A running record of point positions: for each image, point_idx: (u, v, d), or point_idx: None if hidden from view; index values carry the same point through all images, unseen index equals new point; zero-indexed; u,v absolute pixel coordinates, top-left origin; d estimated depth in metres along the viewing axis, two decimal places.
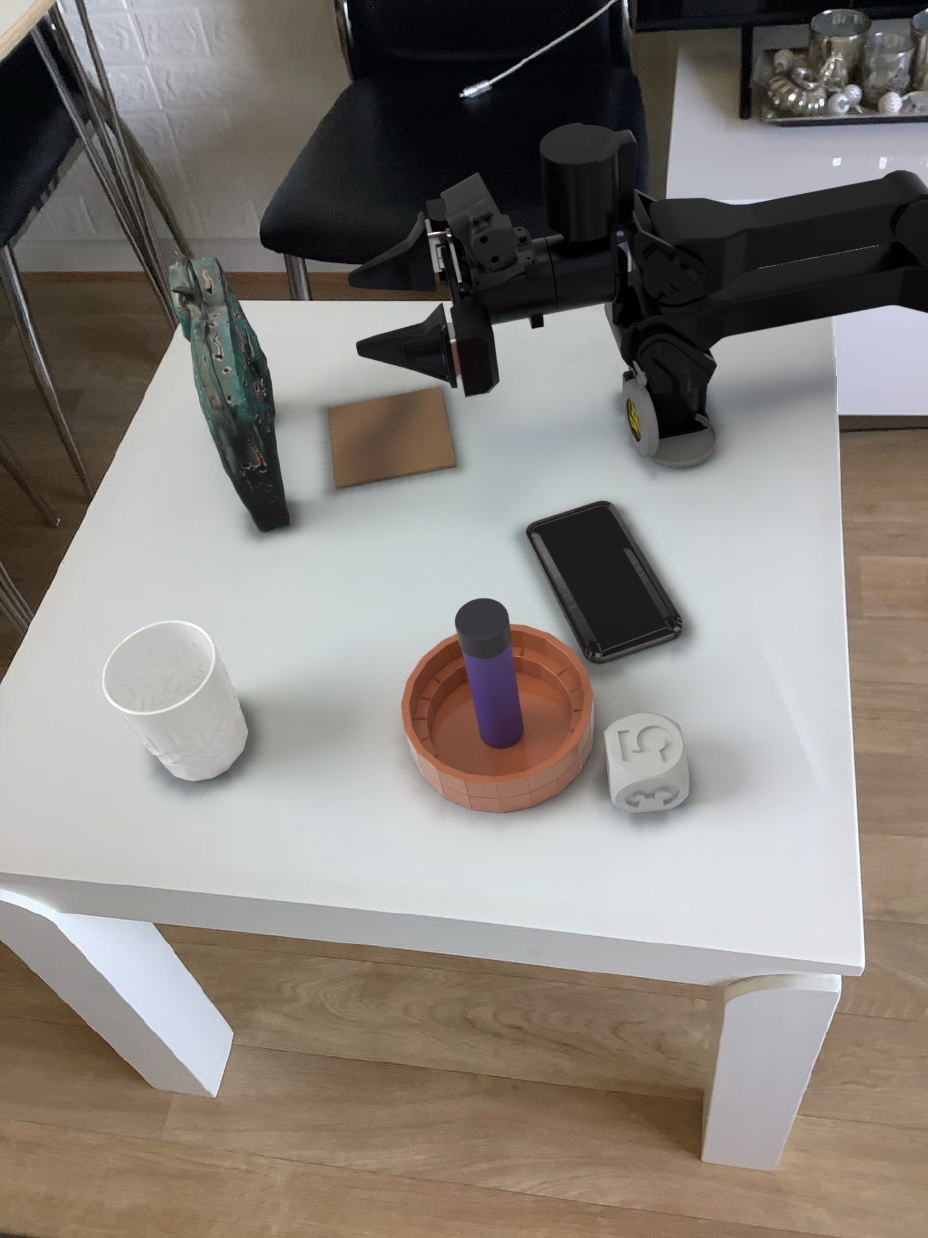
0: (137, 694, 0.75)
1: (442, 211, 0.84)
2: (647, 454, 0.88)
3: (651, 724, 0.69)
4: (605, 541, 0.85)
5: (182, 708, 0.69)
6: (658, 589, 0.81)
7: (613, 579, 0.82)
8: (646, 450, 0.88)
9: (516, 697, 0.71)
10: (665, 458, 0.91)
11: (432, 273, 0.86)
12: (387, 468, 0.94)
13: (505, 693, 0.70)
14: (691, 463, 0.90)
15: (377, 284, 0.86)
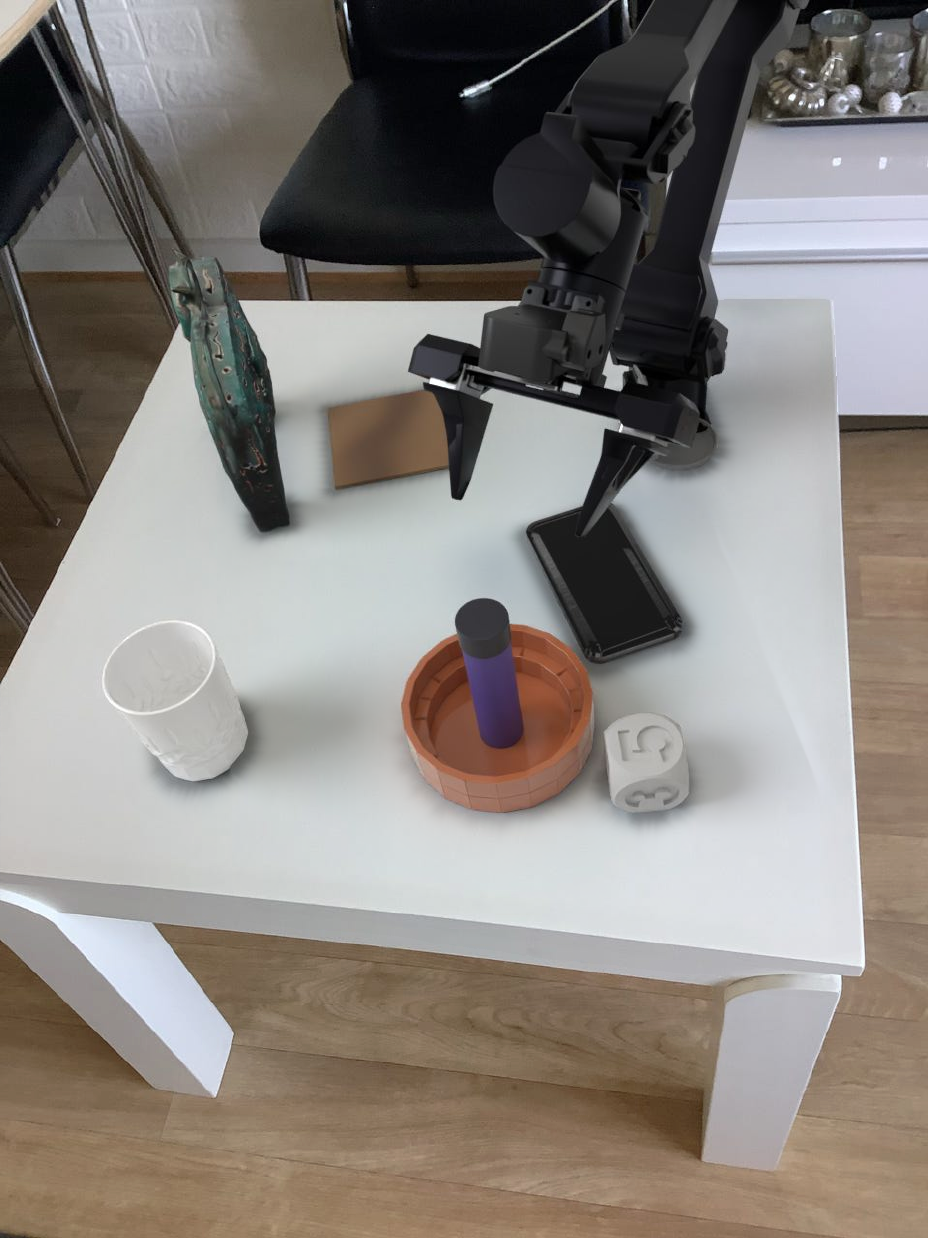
0: (137, 694, 0.75)
1: (440, 361, 0.68)
2: (650, 458, 0.88)
3: (651, 724, 0.69)
4: (605, 541, 0.85)
5: (182, 708, 0.69)
6: (658, 589, 0.81)
7: (613, 579, 0.82)
8: None
9: (516, 697, 0.71)
10: (667, 462, 0.91)
11: (483, 402, 0.72)
12: (387, 468, 0.94)
13: (505, 693, 0.70)
14: (693, 465, 0.89)
15: (471, 469, 0.72)
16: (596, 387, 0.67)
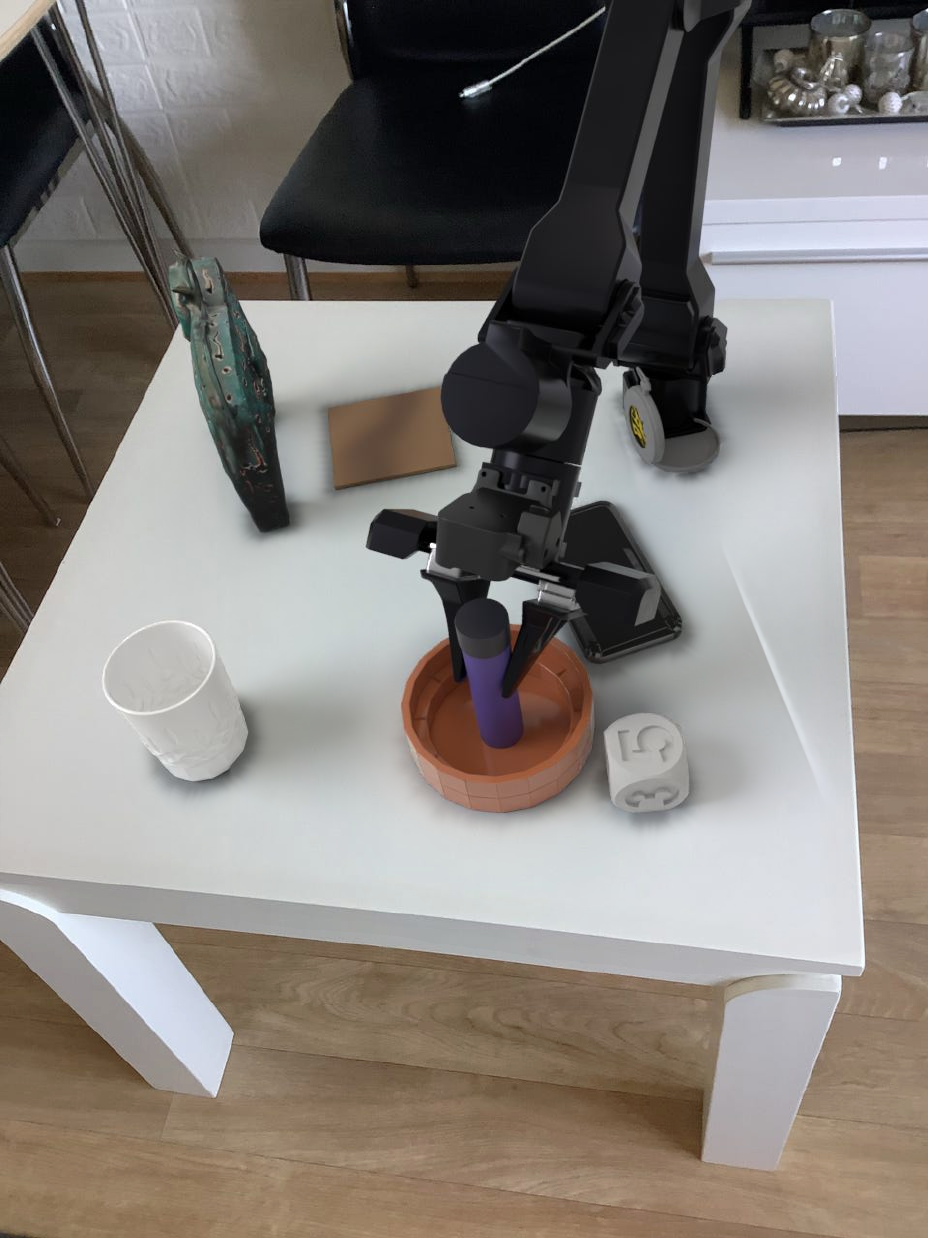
0: (137, 694, 0.75)
1: (398, 540, 0.68)
2: (653, 460, 0.88)
3: (651, 724, 0.69)
4: (605, 541, 0.85)
5: (182, 708, 0.69)
6: None
7: None
8: (652, 456, 0.87)
9: (516, 697, 0.71)
10: (669, 464, 0.91)
11: (481, 580, 0.70)
12: (387, 468, 0.94)
13: None
14: (696, 468, 0.89)
15: None
16: (555, 564, 0.66)
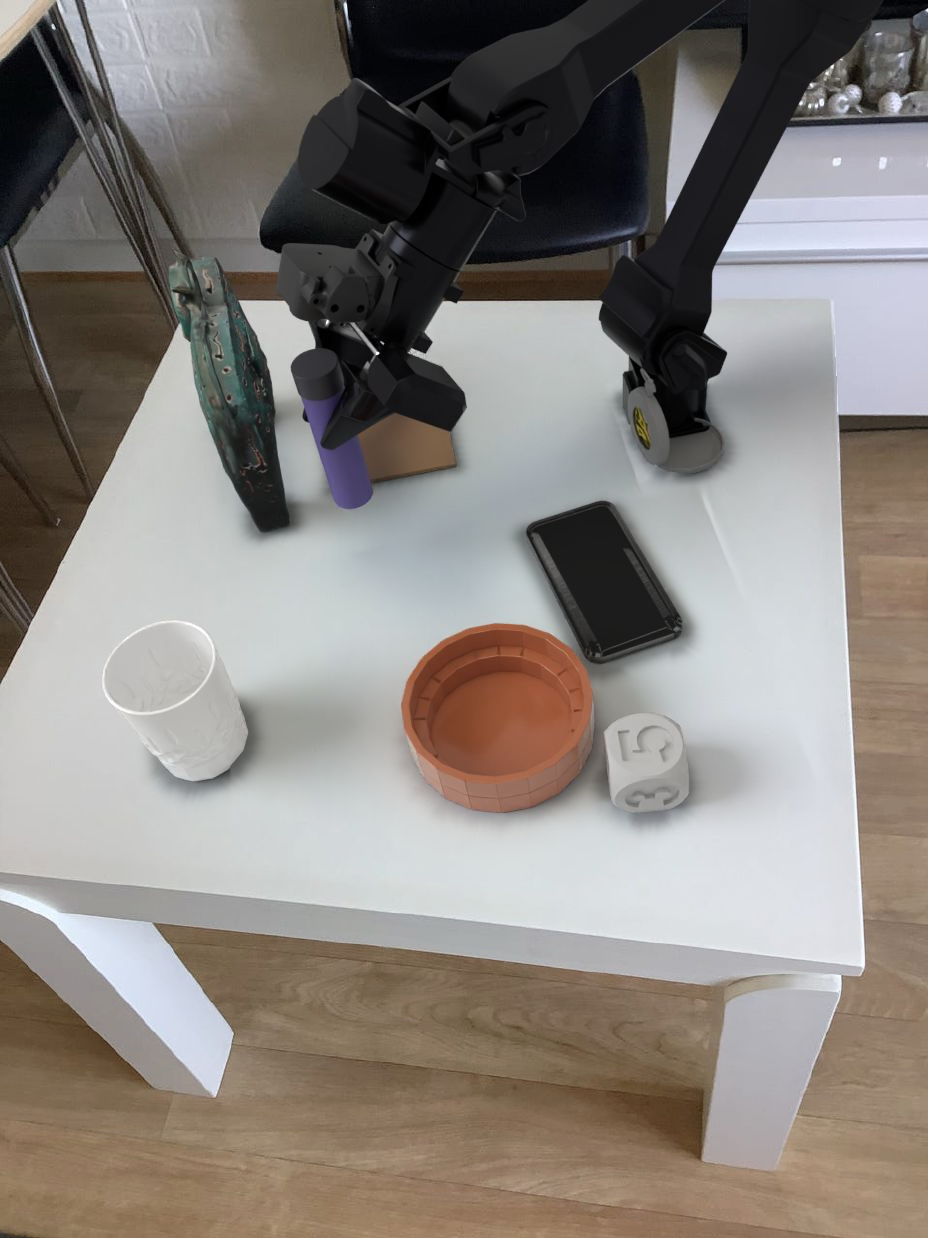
0: (137, 694, 0.75)
1: None
2: (658, 461, 0.88)
3: (651, 724, 0.69)
4: (605, 541, 0.85)
5: (182, 708, 0.69)
6: (658, 589, 0.81)
7: (613, 579, 0.82)
8: (657, 457, 0.87)
9: (349, 460, 0.79)
10: (674, 465, 0.91)
11: (362, 345, 0.77)
12: (387, 468, 0.94)
13: None
14: (701, 468, 0.89)
15: None
16: (392, 345, 0.72)
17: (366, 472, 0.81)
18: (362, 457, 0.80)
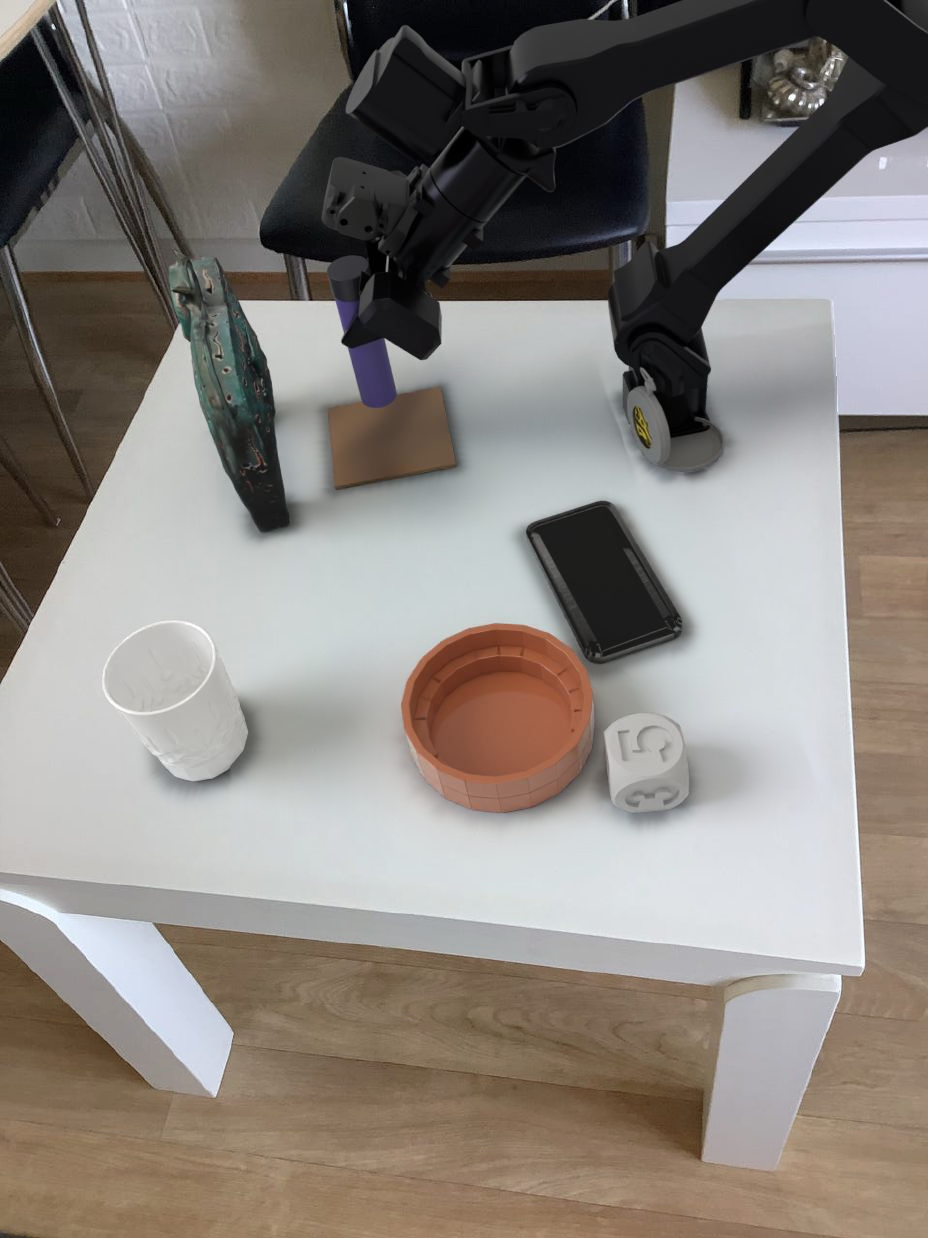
0: (137, 694, 0.75)
1: None
2: (659, 460, 0.87)
3: (651, 724, 0.69)
4: (605, 541, 0.85)
5: (182, 708, 0.69)
6: (658, 589, 0.81)
7: (613, 579, 0.82)
8: (658, 456, 0.87)
9: (368, 362, 0.88)
10: (674, 464, 0.91)
11: None
12: (387, 468, 0.94)
13: None
14: (702, 466, 0.89)
15: None
16: (405, 270, 0.80)
17: (387, 379, 0.90)
18: (384, 364, 0.89)
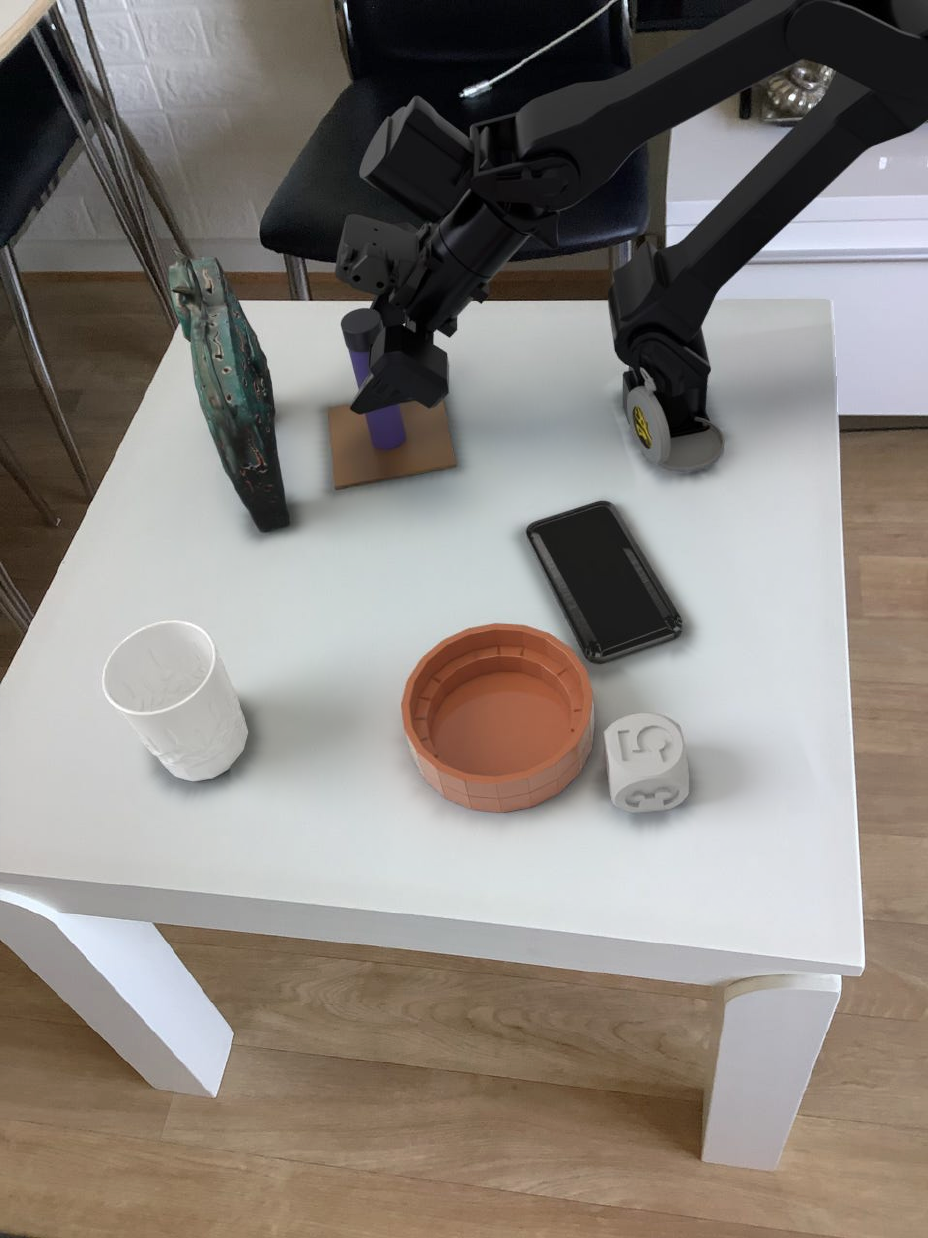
0: (137, 694, 0.75)
1: None
2: (659, 460, 0.87)
3: (651, 724, 0.69)
4: (605, 541, 0.85)
5: (182, 708, 0.69)
6: (658, 589, 0.81)
7: (613, 579, 0.82)
8: (658, 456, 0.87)
9: None
10: (674, 464, 0.91)
11: None
12: (387, 468, 0.94)
13: None
14: (702, 466, 0.89)
15: None
16: (415, 322, 0.83)
17: (397, 423, 0.94)
18: (394, 409, 0.93)
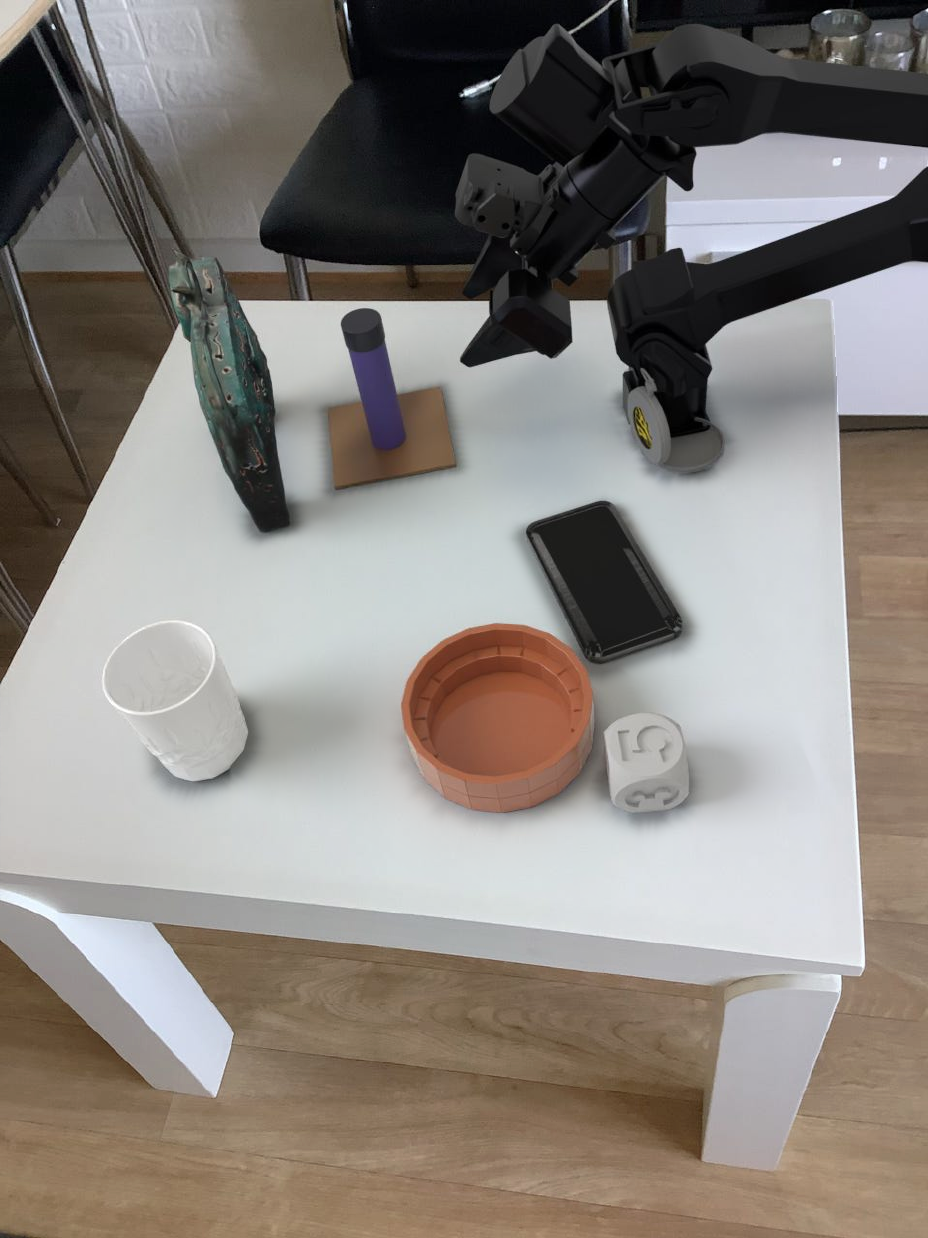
0: (137, 694, 0.75)
1: None
2: (659, 461, 0.87)
3: (651, 724, 0.69)
4: (605, 541, 0.85)
5: (182, 708, 0.69)
6: (658, 589, 0.81)
7: (613, 579, 0.82)
8: (659, 457, 0.87)
9: (379, 408, 0.92)
10: (675, 464, 0.91)
11: None
12: (387, 468, 0.94)
13: (365, 392, 0.91)
14: (702, 467, 0.89)
15: (489, 283, 0.89)
16: (535, 268, 0.80)
17: (397, 423, 0.94)
18: (394, 409, 0.93)
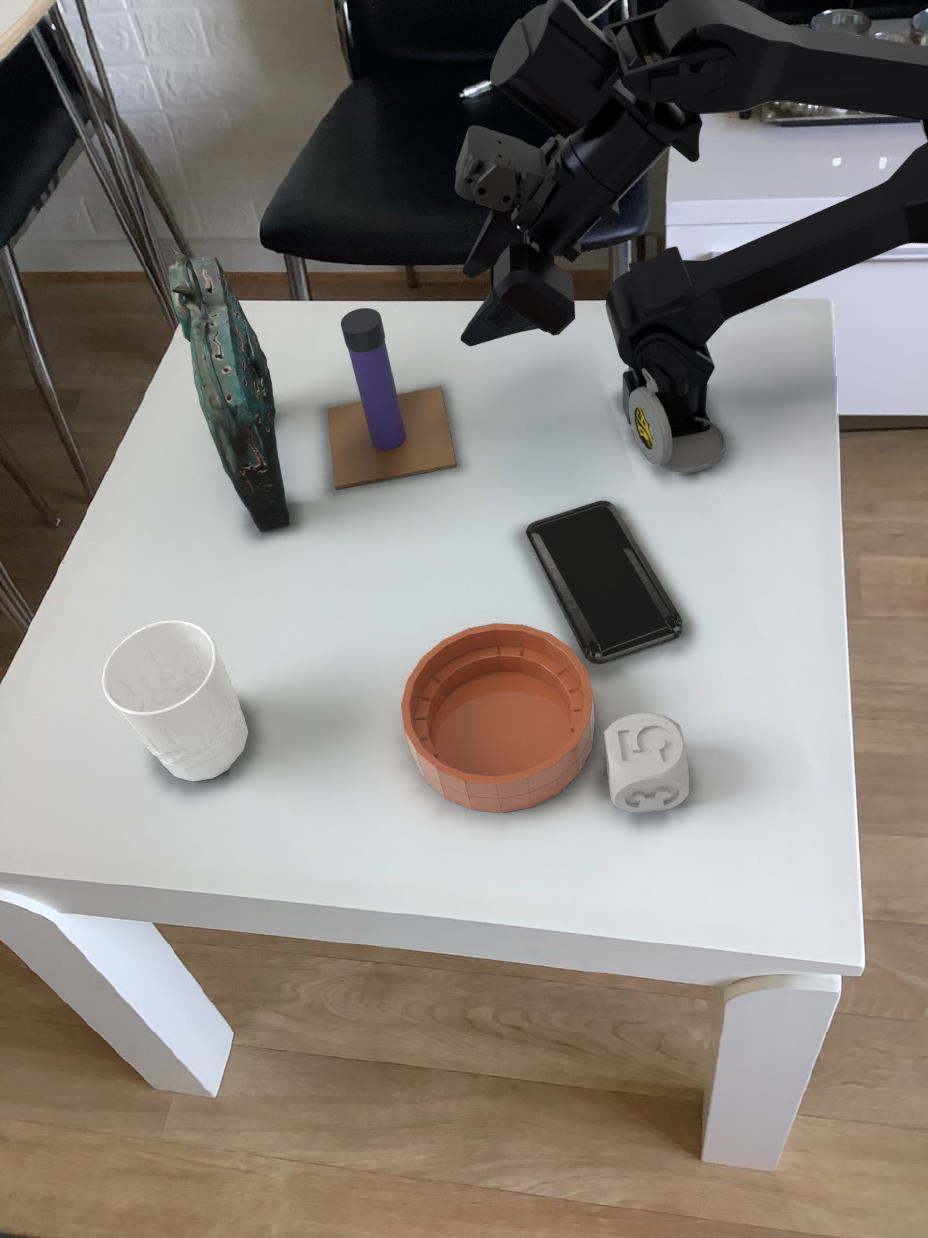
0: (137, 694, 0.75)
1: None
2: (661, 461, 0.87)
3: (651, 724, 0.69)
4: (605, 541, 0.85)
5: (182, 708, 0.69)
6: (658, 589, 0.81)
7: (613, 579, 0.82)
8: (660, 457, 0.87)
9: (379, 408, 0.92)
10: (676, 464, 0.91)
11: None
12: (387, 468, 0.94)
13: (365, 392, 0.91)
14: (704, 467, 0.89)
15: (490, 262, 0.88)
16: (537, 244, 0.78)
17: (397, 423, 0.94)
18: (394, 409, 0.93)
